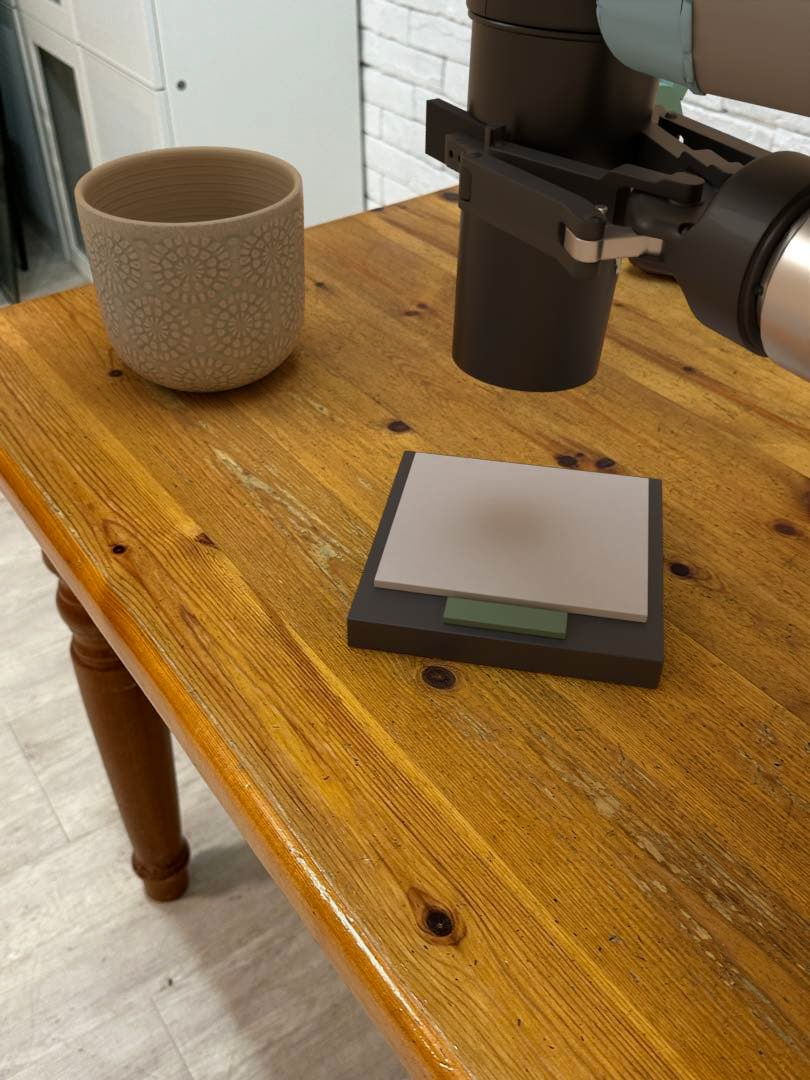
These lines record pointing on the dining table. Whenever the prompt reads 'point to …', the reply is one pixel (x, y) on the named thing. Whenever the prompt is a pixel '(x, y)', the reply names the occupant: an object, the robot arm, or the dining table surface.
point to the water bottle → (556, 128)
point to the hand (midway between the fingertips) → (483, 117)
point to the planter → (197, 262)
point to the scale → (517, 569)
